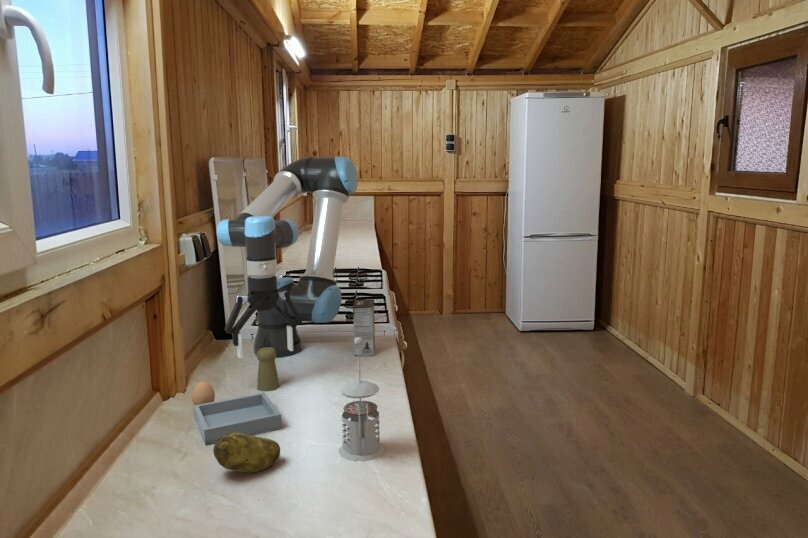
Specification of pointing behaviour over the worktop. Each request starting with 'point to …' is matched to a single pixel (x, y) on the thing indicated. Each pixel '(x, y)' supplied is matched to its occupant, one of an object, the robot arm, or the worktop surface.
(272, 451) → the potato
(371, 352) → the coffee box
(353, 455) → the french press
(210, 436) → the grey bin
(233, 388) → the worktop surface
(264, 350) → the cork
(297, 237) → the robot arm
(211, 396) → the egg
